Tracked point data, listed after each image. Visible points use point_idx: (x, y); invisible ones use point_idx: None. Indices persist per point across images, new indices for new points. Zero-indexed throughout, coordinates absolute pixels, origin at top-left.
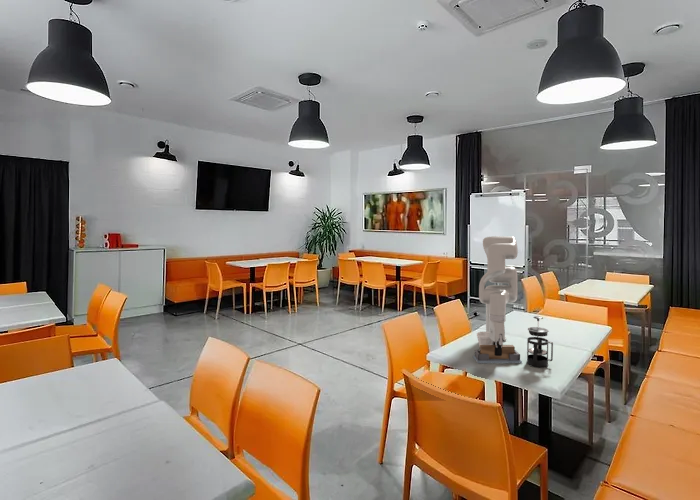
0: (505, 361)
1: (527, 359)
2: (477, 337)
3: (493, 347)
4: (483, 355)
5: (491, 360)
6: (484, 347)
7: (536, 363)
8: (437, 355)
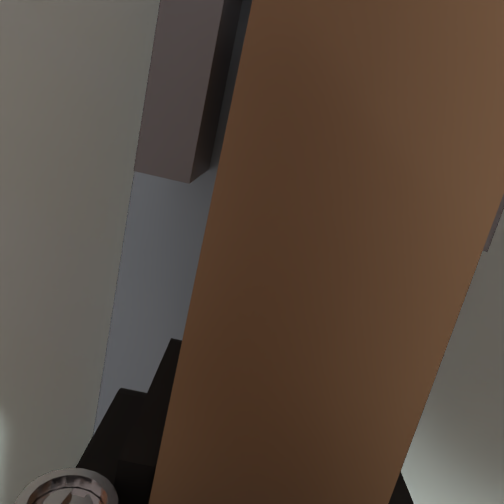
0: (97, 422)
1: None
2: None
3: (169, 426)
4: (161, 21)
5: (159, 213)
6: (241, 87)
7: None
8: None
